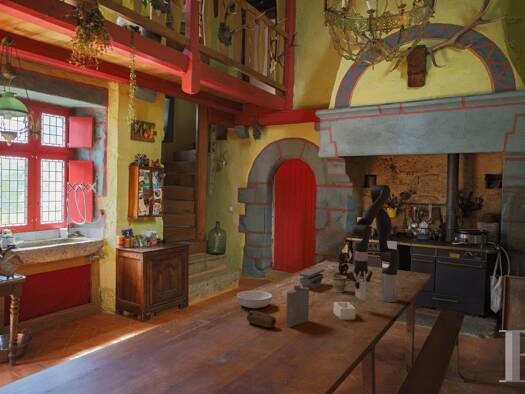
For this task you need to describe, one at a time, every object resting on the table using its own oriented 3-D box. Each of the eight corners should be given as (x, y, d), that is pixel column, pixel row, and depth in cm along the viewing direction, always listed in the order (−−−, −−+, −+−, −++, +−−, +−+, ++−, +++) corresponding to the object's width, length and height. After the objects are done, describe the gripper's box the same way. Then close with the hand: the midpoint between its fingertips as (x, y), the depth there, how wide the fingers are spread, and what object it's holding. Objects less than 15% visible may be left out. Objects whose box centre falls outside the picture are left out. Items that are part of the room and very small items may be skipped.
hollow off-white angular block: (347, 312, 227) (348, 301, 227) (355, 319, 215) (355, 308, 215) (333, 312, 226) (333, 302, 226) (340, 319, 214) (340, 308, 214)
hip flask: (289, 327, 200) (290, 288, 199) (283, 325, 203) (284, 286, 202) (309, 320, 211) (310, 283, 210) (303, 318, 214) (304, 282, 213)
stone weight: (244, 324, 203) (245, 311, 203) (251, 320, 209) (252, 308, 209) (270, 330, 196) (271, 317, 196) (277, 326, 202) (277, 313, 202)
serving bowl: (279, 306, 235) (279, 295, 235) (254, 314, 220) (254, 302, 219) (254, 299, 249) (254, 288, 249) (229, 305, 234) (229, 294, 234)
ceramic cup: (329, 292, 270) (330, 277, 270) (333, 288, 279) (333, 274, 279) (349, 294, 265) (349, 279, 265) (351, 290, 274) (352, 276, 274)
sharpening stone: (309, 291, 271) (309, 275, 271) (298, 289, 275) (299, 273, 275) (323, 283, 292) (324, 269, 292) (313, 282, 297) (314, 267, 296)
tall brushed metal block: (361, 295, 234) (361, 278, 233) (365, 299, 227) (366, 281, 226) (355, 295, 233) (355, 278, 233) (359, 299, 226) (360, 281, 226)
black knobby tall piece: (338, 275, 323) (339, 250, 322) (355, 277, 314) (356, 252, 314) (330, 278, 311) (331, 252, 311) (348, 281, 302) (349, 255, 302)
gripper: (370, 257, 234) (369, 286, 234) (347, 257, 232) (346, 287, 233) (375, 260, 226) (374, 290, 227) (351, 260, 225) (351, 290, 225)
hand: (360, 288), depth 230 cm, fingers closed on tall brushed metal block, 3 cm apart
